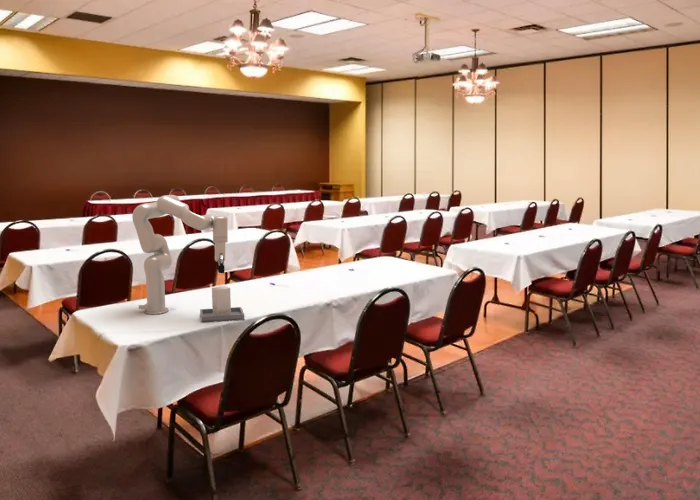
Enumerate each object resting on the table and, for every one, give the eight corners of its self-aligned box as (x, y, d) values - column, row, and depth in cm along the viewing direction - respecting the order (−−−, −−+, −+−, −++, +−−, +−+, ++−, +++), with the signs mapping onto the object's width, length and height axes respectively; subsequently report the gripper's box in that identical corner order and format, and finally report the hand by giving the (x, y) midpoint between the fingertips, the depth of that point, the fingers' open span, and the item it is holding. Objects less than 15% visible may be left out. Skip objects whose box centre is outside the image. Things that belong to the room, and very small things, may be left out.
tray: (201, 322, 320) (201, 316, 319) (200, 314, 335) (200, 309, 334) (244, 319, 326) (244, 314, 325) (241, 312, 341) (240, 306, 340)
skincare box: (226, 313, 335) (225, 285, 333) (231, 316, 330) (231, 287, 327) (211, 315, 330) (211, 287, 328) (217, 318, 325) (216, 289, 322)
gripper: (211, 237, 331) (212, 268, 334) (214, 241, 314) (214, 274, 317) (226, 237, 333) (226, 268, 336) (229, 241, 317) (229, 274, 319)
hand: (220, 271), depth 326 cm, fingers open, 9 cm apart
